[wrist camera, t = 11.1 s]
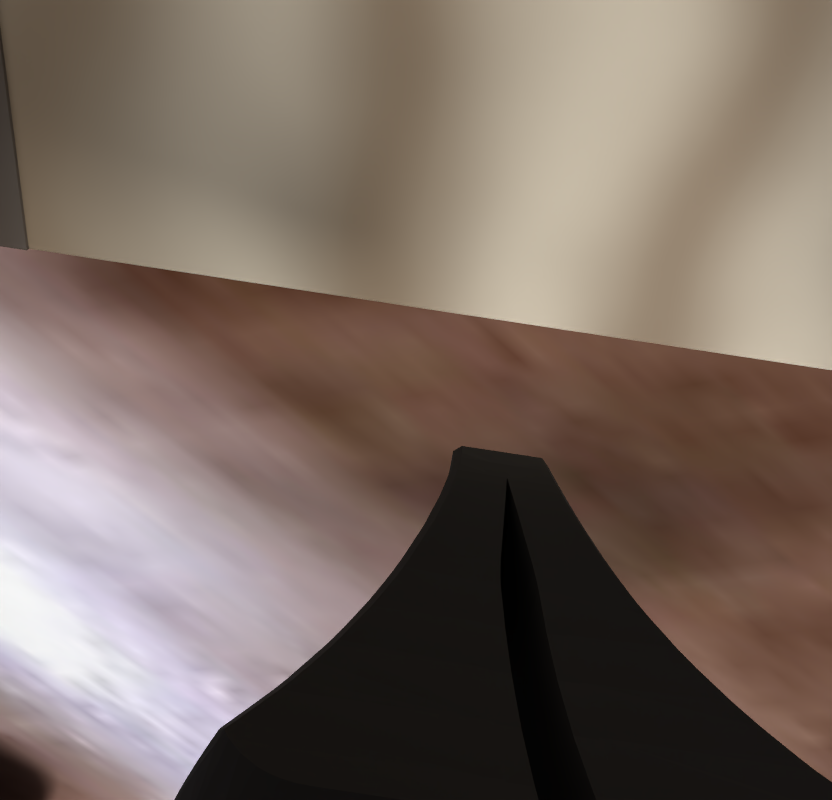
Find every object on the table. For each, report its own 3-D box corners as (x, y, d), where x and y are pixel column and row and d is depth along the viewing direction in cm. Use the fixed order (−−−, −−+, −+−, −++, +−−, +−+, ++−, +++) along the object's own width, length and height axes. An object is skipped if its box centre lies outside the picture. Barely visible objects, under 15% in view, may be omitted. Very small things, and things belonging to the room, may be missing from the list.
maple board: (1097, -131, 15) (1203, -143, 13) (873, 335, 20) (922, 385, 18) (-146, -320, 15) (-257, -366, 13) (-54, 195, 20) (-122, 227, 18)
